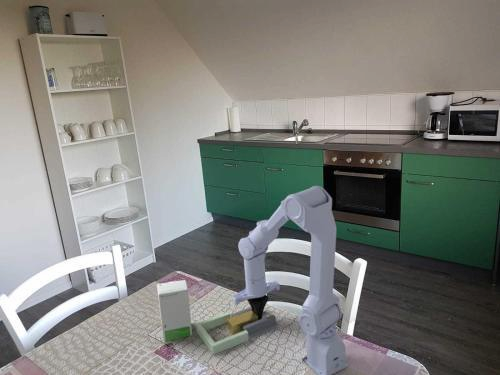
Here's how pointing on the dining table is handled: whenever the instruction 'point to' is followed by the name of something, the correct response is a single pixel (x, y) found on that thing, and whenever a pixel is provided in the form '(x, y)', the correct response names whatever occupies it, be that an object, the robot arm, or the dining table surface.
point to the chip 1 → (235, 324)
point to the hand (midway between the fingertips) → (258, 318)
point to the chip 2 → (249, 317)
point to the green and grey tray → (248, 333)
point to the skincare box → (174, 310)
